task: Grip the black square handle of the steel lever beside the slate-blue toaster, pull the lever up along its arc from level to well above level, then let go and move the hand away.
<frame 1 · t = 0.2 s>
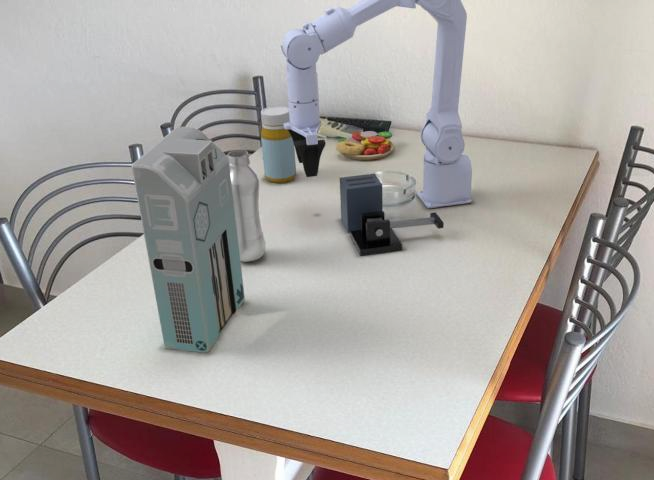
hand: (307, 168, 169), 10 cm above the table, tool pointing down, fingers open, 7 cm apart
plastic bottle: (249, 258, 161), on the table
toy food set: (365, 152, 204), on the table
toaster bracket: (375, 243, 164), on the table
lever: (404, 223, 163), point 3 cm above the table, hinge at -2.0°
bottle: (280, 178, 193), on the table
device: (206, 325, 142), on the table
toaster body: (361, 224, 171), on the table
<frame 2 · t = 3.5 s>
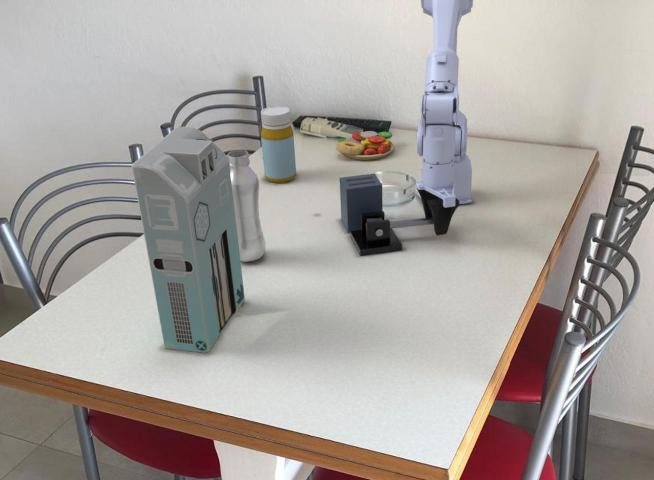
hand: (436, 228, 165), 1 cm above the table, tool pointing down, fingers closed on lever, 5 cm apart
lever: (404, 223, 163), point 3 cm above the table, hinge at -2.0°, touching gripper
everything else where it was.
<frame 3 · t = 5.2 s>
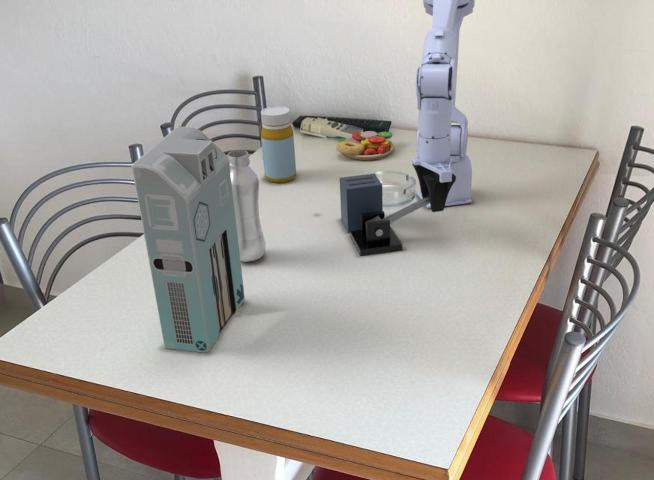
hand: (432, 204, 162), 6 cm above the table, tool pointing down, fingers closed on lever, 5 cm apart
lever: (402, 212, 161), point 5 cm above the table, hinge at 21.0°, touching gripper
everything else where it was.
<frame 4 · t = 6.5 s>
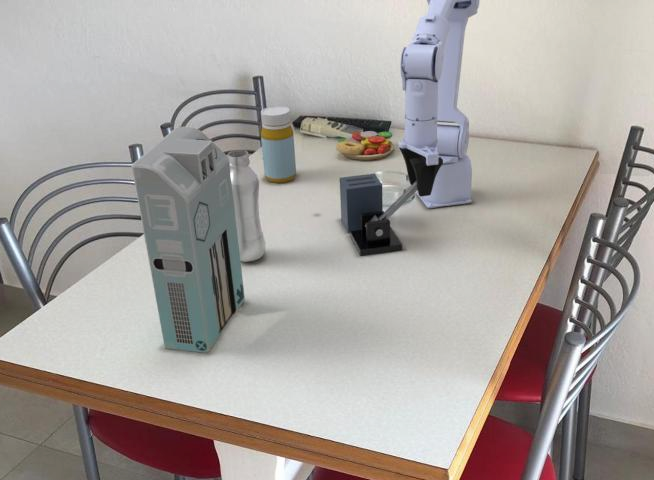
hand: (420, 189, 160), 10 cm above the table, tool pointing down, fingers closed on lever, 5 cm apart
lever: (396, 205, 160), point 7 cm above the table, hinge at 41.5°, touching gripper
everything else where it was.
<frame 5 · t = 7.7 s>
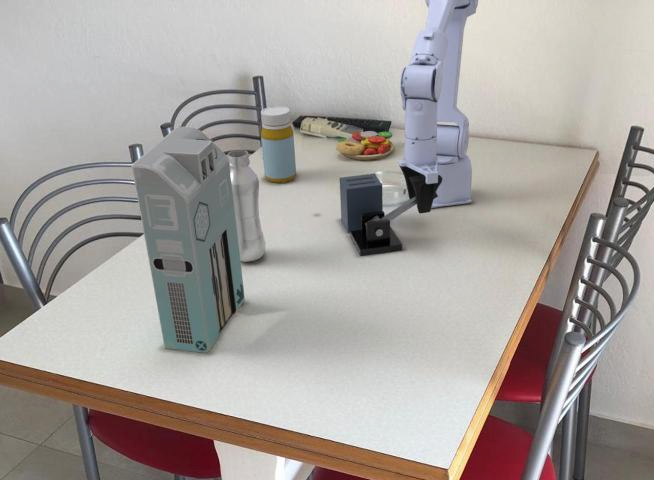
hand: (419, 206, 161), 6 cm above the table, tool pointing down, fingers closed on lever, 5 cm apart
lever: (400, 209, 161), point 6 cm above the table, hinge at 28.2°, touching gripper
everything else where it was.
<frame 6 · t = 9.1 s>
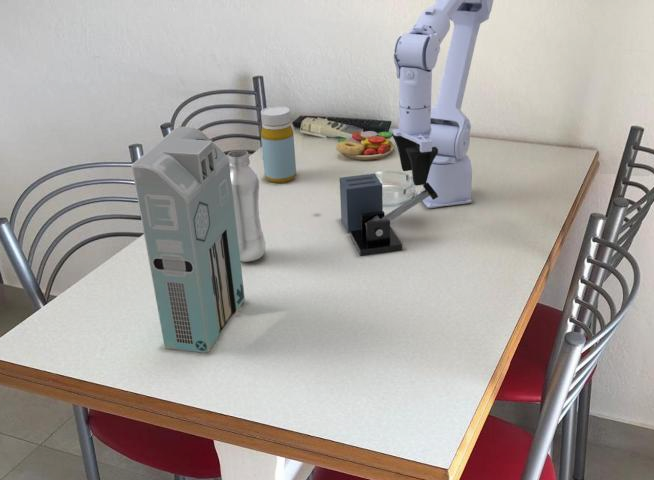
hand: (413, 177, 163), 10 cm above the table, tool pointing down, fingers open, 7 cm apart
lever: (400, 210, 161), point 6 cm above the table, hinge at 27.9°
everything else where it was.
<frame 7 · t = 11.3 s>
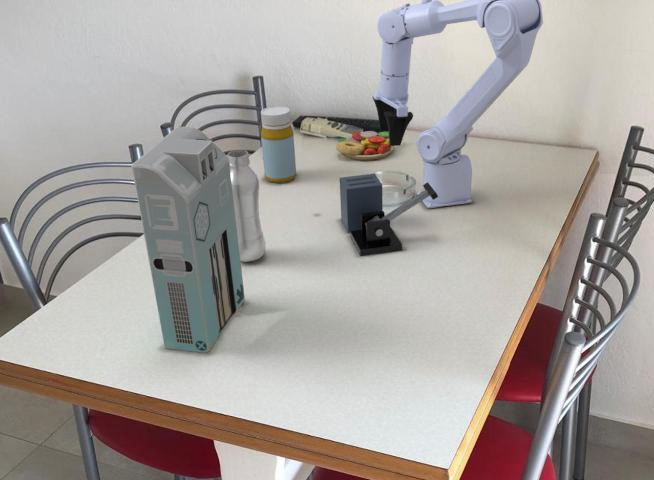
hand: (390, 137, 180), 11 cm above the table, tool pointing down, fingers open, 7 cm apart
nothing on the table moved.
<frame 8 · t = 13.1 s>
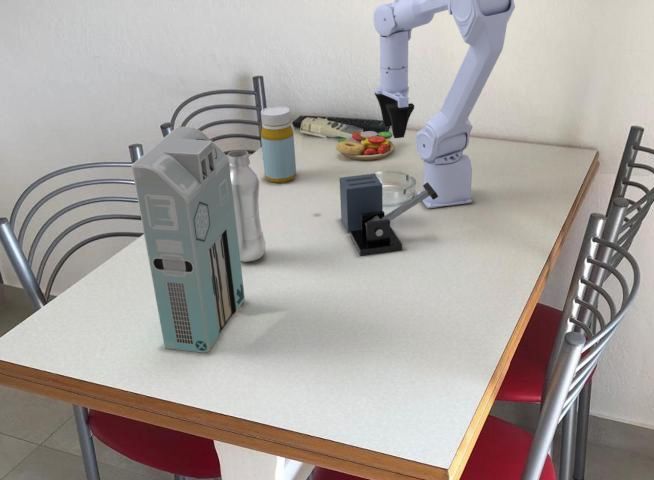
hand: (394, 131, 184), 10 cm above the table, tool pointing down, fingers open, 7 cm apart
nothing on the table moved.
at the end: lever at +28° (first picture: -2°); lever reached +44° during the clip, +28° at the end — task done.
